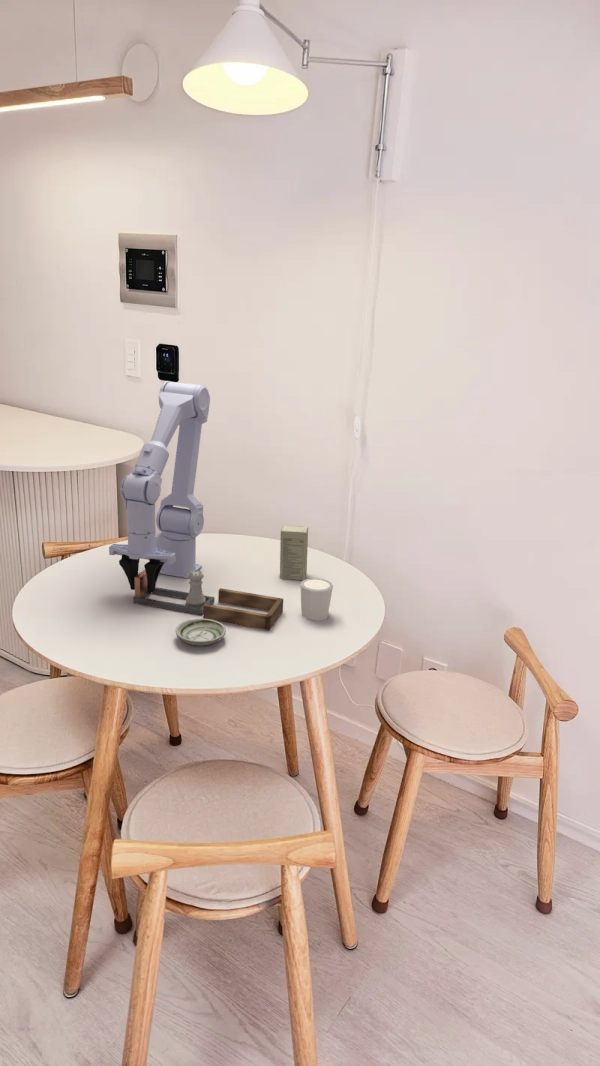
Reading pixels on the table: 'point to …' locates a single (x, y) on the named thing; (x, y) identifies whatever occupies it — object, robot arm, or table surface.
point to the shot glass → (315, 598)
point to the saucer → (200, 631)
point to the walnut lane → (243, 616)
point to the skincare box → (293, 552)
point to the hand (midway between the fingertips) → (142, 589)
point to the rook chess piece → (195, 590)
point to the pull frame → (142, 593)
